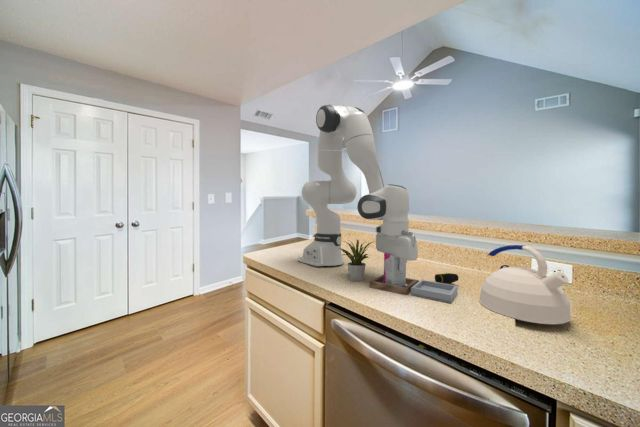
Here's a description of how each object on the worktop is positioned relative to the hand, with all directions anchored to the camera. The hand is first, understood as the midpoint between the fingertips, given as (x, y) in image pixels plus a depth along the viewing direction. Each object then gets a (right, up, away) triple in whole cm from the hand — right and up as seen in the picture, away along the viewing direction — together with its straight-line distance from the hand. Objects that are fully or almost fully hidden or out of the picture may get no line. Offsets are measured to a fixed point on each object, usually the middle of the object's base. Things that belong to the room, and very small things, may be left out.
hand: (394, 268), depth 91 cm
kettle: (+30, -8, -20) cm, 37 cm away
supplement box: (0, -7, 0) cm, 7 cm away
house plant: (-12, -6, +9) cm, 16 cm away
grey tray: (+11, -7, -8) cm, 15 cm away
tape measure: (+22, -6, +1) cm, 23 cm away
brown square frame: (0, -7, 0) cm, 7 cm away
